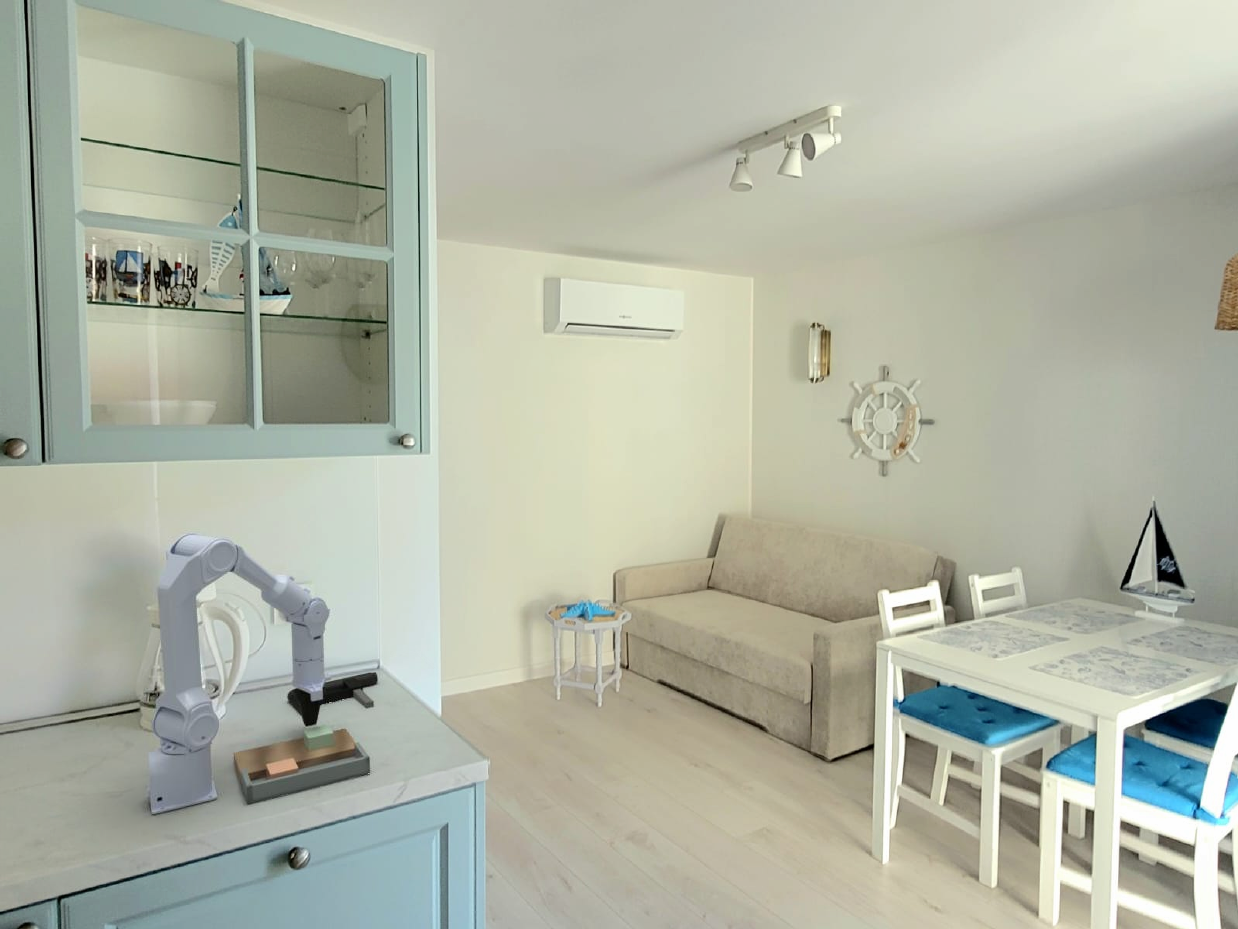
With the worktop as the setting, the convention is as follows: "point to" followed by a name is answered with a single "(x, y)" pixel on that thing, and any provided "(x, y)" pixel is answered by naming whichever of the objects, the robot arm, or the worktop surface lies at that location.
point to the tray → (306, 777)
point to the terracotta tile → (281, 769)
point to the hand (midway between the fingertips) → (310, 724)
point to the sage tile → (318, 737)
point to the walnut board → (293, 754)
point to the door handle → (345, 690)
